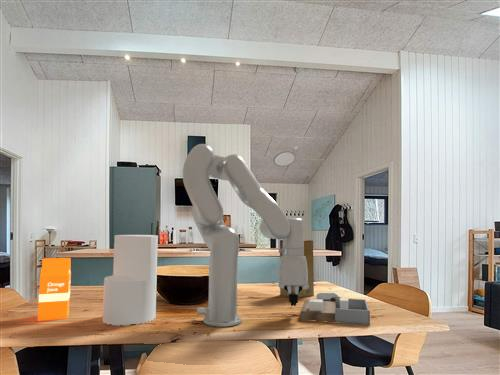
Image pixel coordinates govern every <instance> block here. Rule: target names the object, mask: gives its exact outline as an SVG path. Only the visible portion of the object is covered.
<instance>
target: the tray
mask: <svg viewBox="0 0 500 375" xmlns="http://www.w3.org/2000/svg"><path fill="white" fill-rule="evenodd" d="M370 317H371V312H370V308H369V305H368V302H367V300H366V299H363V298H362V299H359V298H348V309H340V298H336V308H335V322H340V323H339V324H348V323H349V324H350V325H362V324H364V326H371V318H370Z"/></svg>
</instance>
